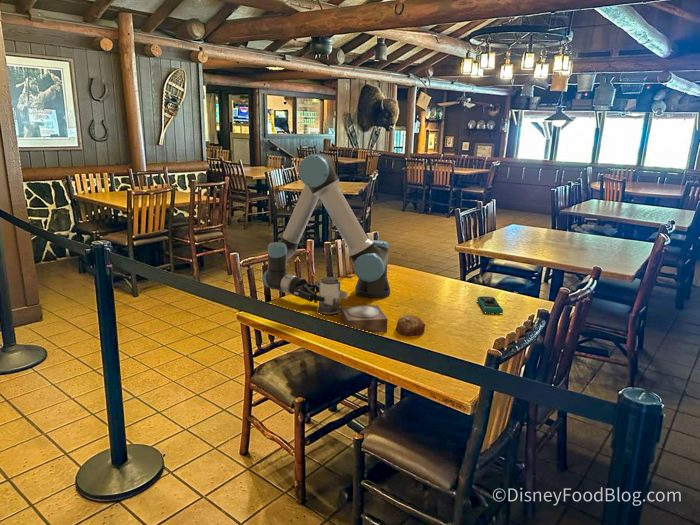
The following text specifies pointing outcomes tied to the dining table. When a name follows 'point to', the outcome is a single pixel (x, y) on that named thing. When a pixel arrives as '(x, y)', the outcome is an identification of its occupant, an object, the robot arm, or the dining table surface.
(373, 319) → the stand
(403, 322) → the bread roll
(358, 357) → the dining table surface
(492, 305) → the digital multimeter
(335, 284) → the cylinder
